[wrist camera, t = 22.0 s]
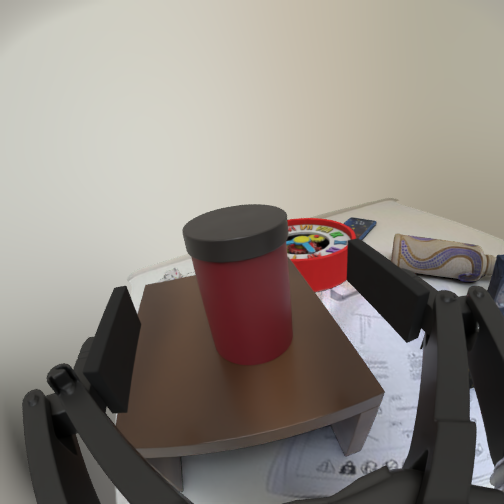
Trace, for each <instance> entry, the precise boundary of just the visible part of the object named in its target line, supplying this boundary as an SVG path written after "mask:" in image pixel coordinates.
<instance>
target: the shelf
mask: <svg viewBox="0 0 504 504" xmlns="http://www.w3.org/2000/svg"><path fill="white" fill-rule="evenodd" d="M288 269H289V282H290V296H291V311H292V327H293V339H292V342H291V344H290V346H289V348H288V349H287V350H286V351H285V352H284V353H283V354H282V355H280V356H279V357H278V358H276V359H274V360H272V361H269V362H267V363H263V364H258V365H239V364H235V363H232V362H230V361H228V360H226V359H224V358H223V357H222V356H221V355H220V354H219V353H218V352H217V350H216V347H215V344H214V340H213V337H212V334H211V330H210V326H209V323H208V319H207V316H206V312H205V308H204V305H203V301H202V297H201V293H200V289H199V286H198V282H197V278H196V275H194V276H189V277H184V278H179V279H174V280H169V281H164V282H158V283H153V284H148V285H145V289H144V292H143V296H142V300H141V303H140V307H139V311H138V317H139V320H140V322H141V329H140V334H139V339H138V345H137V350H136V356H135V362H134V368H133V374H132V381H131V388H130V395H129V403H128V411H127V413H118V414H117V421H116V427H117V428H118V429H119V430H120V432H121V433H122V434H123V435H124V436H125V438H126V439H127V440H128V441H129V442H130V443H131V444H132V445H133V447H134V448H135V449H136V450H137V451H138V452H139V453H140V454H141V455H142V456H143V457H144V458H145V459H146V461H147V462H148V463H149V464H150V465H151V466H152V467H153V468H154V469H155V470H156V471H157V472H159V473H160V474H161V475H162V476H163V477H164V478H165V479H166V480H167V481H168V482H169V483H170V484H171V485H172V486H174V487H175V488H176V489H177V490H178V491H179V492H183V484H182V471H181V457H180V456H189V455H198V454H207V453H214V452H221V451H228V450H234V449H239V448H245V447H250V446H255V445H259V444H264V443H268V442H272V441H276V440H280V439H284V438H288V437H292V436H295V435H299V434H302V433H306V432H309V431H312V430H315V429H318V428H321V427H324V426H327V425H331V427H332V429H333V431H334V434H335V436H336V438H337V440H338V442H339V444H340V446H341V448H342V451H343V453H344V455H345V456H349V455H351V454H354V453H356V452H359V451H361V449H362V447H363V445H364V443H365V440H366V438H367V436H368V433H369V431H370V429H371V426H372V424H373V422H374V419H375V417H376V414H377V412H378V409H379V406H380V404H381V401H382V399H383V396H384V393H385V391H384V390H383V388H382V387H381V385H380V384H379V382H378V381H377V380H376V378H375V377H374V375H373V374H372V372H371V371H370V369H369V368H368V366H367V365H366V364H365V362H364V361H363V359H362V358H361V356H360V355H359V354H358V352H357V351H356V349H355V348H354V346H353V345H352V344H351V342H350V341H349V339H348V338H347V337H346V335H345V334H344V332H343V331H342V330H341V328H340V327H339V325H338V324H337V323H336V321H335V320H334V318H333V317H332V316H331V314H330V313H329V311H328V310H327V309H326V307H325V306H324V305H323V303H322V302H321V300H320V299H319V298H318V296H317V295H316V294H315V292H314V291H313V289H312V288H311V287H310V285H309V284H308V283H307V281H306V280H305V279H304V277H303V276H302V275H301V273H300V272H299V270H298V269H297V268H296V266H295V265H294V264H293V262H292V261H291V260H290V258H289V257H288Z"/></svg>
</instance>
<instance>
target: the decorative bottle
mask: <svg viewBox="0 0 504 504" xmlns="http://www.w3.org/2000/svg"><path fill="white" fill-rule="evenodd" d="M496 259H497V258H496V257H495V256H492V255H485V254H484V252H483V250H482V248H481V247H480V246H478V245H472V244H466V243H460V242H454V241H446V240H437V239H431V238H424V237H417V236H409V235H408V236H407V235H401V234H395V237H394V242H393V250H392V258H391V262H393V263H394V264H395V265H397V266H398V267H399V268H405V269H407V270H410V271H412V272H413V273H419V274H420V273H421V274H427V275H434V276H442V277H450V278H457V279H459V280H460V281H464V282H470V283H471V282H474V281H477V280H479V278H481V277H482V276H481V275H482V274H484V276H485V275H492V273H493V269H494V265H495V262H496ZM462 279H463V280H462Z"/></svg>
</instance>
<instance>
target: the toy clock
mask: <svg viewBox="0 0 504 504" xmlns="http://www.w3.org/2000/svg"><path fill="white" fill-rule="evenodd" d="M287 222H288V233H289V234H288V238H287V240H286V245H287V257H289V258H290V260H291V261H292V262H293V264H294V265H295V266H296V268H297V269H298V270H299V272H300V273H301V275H302V276H303V277H304V279H305V280H306V281H307V283H308V284H309V285H310V287H311V288H312V289H313V291H314V292H319V291H324V290H327V289H330V288H333V287H335V286H337V285H340V284H341V283H343V282H344V281H346V280H347V245H348V240H351V239H356V236H355V233H354V231H353V230H352V229H351V228H350V227H348V226H346V225H345V224H342V223H339V222H336V221H332V220H327V219H318V218H301V219H290V220H287Z"/></svg>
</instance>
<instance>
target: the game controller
mask: <svg viewBox="0 0 504 504" xmlns="http://www.w3.org/2000/svg"><path fill="white" fill-rule="evenodd" d="M191 273H192V272H191ZM188 274H189V273H188ZM188 274H187V275H188ZM182 277H183V276H181V274H180V272H179V270H178V269H175V268H174V269H172V270H169V271H167V272H165V275H164V278H162V279H160V280H159V281H158V282H164V281H169V280H174V279H179V278H182ZM158 282H157V283H158Z"/></svg>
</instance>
